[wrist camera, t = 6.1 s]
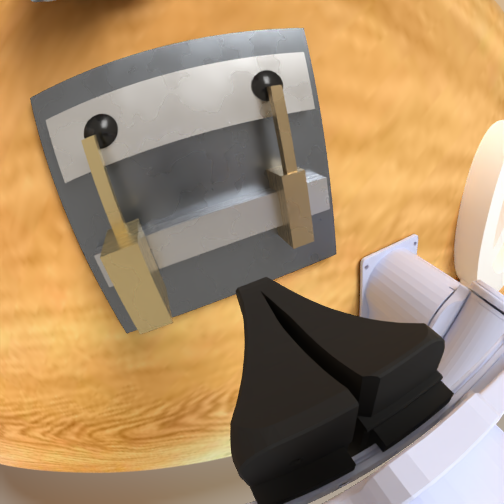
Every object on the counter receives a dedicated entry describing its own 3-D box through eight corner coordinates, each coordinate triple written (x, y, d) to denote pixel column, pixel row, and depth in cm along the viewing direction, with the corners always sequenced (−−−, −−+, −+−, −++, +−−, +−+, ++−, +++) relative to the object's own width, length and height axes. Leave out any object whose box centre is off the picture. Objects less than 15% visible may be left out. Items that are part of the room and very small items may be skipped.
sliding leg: (166, 287, 19) (173, 322, 16) (138, 298, 18) (140, 334, 15) (109, 129, 14) (99, 131, 10) (76, 143, 13) (58, 149, 10)
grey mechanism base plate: (331, 250, 25) (353, 267, 22) (126, 326, 21) (127, 354, 19) (297, 30, 16) (322, 20, 14) (34, 98, 13) (15, 95, 10)
